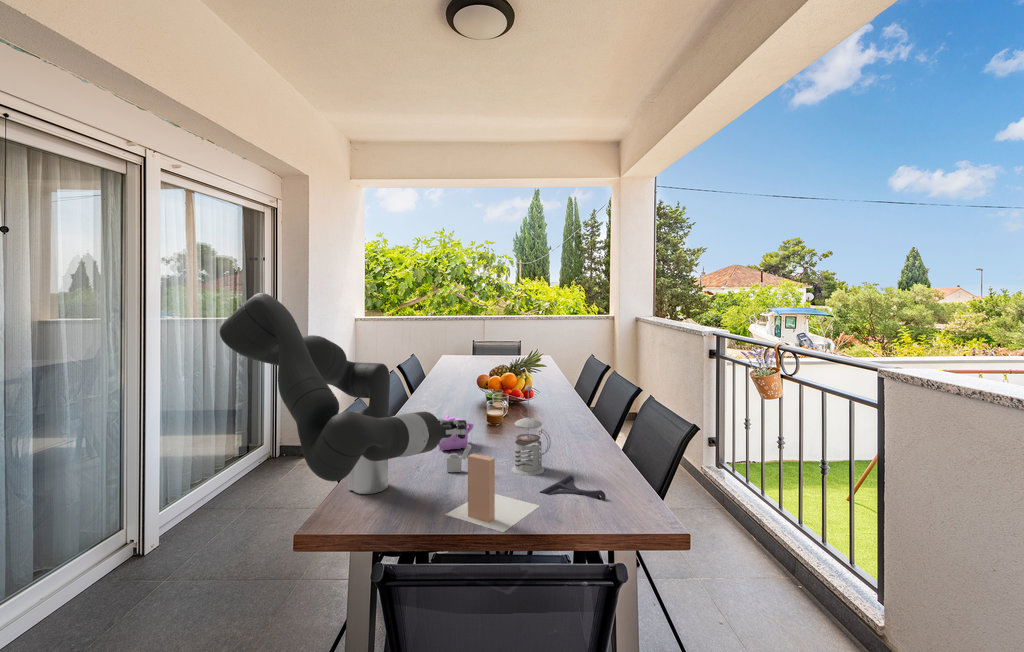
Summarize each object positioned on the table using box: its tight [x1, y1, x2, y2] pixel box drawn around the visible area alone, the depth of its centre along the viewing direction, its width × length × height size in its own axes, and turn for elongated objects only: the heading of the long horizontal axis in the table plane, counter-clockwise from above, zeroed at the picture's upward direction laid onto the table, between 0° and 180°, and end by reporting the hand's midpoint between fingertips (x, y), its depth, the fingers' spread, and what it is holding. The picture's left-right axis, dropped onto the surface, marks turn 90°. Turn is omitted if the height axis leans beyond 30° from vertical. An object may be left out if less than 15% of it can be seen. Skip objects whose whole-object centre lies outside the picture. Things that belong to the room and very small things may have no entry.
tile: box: [467, 453, 496, 523], centre depth 111 cm, size 6×2×14 cm, turn 57°
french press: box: [511, 384, 552, 476], centre depth 144 cm, size 10×12×25 cm
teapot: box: [437, 414, 475, 451], centre depth 168 cm, size 18×14×10 cm
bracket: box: [539, 474, 607, 501], centre depth 128 cm, size 14×15×3 cm
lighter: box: [446, 443, 472, 473], centre depth 143 cm, size 7×2×8 cm, turn 90°
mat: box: [444, 493, 540, 533], centre depth 116 cm, size 16×16×1 cm
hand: (463, 425), depth 105 cm, fingers closed
